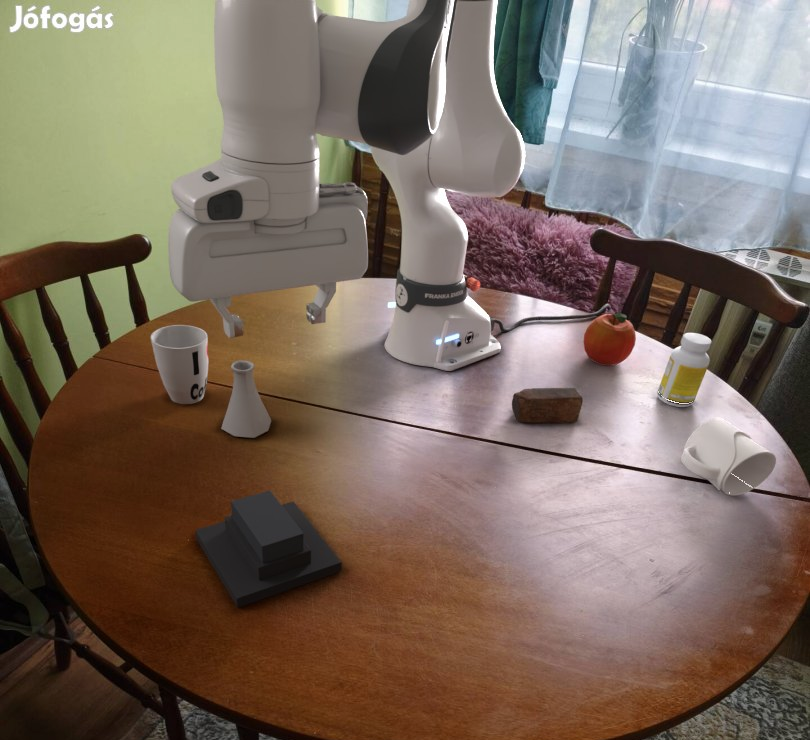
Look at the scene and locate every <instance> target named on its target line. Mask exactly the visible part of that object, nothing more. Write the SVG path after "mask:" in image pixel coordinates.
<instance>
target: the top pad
mask: <svg viewBox="0 0 810 740" xmlns="http://www.w3.org/2000/svg"><path fill="white" fill-rule="evenodd" d="M282 505H283V504H281V502H280V501H279V500H278V498H277V497H276V496H275V495H274V493H273V492H272V491H271V490H265V491H263V492H259V493H255V494H252V495H251V494H250V495H247V496H245V497H241V498H238V499H233V500H231V501H230V508H231V515H232V518H233V520H234V521H235V523H236V524H237V526H238V527H239V528H240V530H241V531H242V533H243V534H244V536H245V537H246V539H247V540H248V542H249V543H250V545H251V546H252V548H253V549H254V551H255V552H256V554H257V555H258V557H259V558H260V559H261V561H262V562H263V563H265V562H268V561H272V560H275V559H278V558H281V557H284V556H287V555H290V554H293V553H296V552H299V551H302V550H304V541H303V532H302V531H301V530H300V528H299V527H298V526H297V524H296V523H295V522H294V521H293V519H292V518H291V517H290V515H289V514H288V513H287V512H286V510H285V509H284V508H283V506H282Z"/></svg>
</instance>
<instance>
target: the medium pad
mask: <svg viewBox="0 0 810 740" xmlns="http://www.w3.org/2000/svg"><path fill="white" fill-rule="evenodd" d="M224 521H225V527H226V531H227V532H228V534H229V535H230V537H231V538H232V540H233V541H234V543H235V544H236V546H237V547H238V549H239V550H240V552H241V553H242V555H243V557H244V558H245V560H246V561H247V563H248V564H249V566H250V567H251V569H252V570H253V572H254V573H255V575H256V576H257V578H258V579H259V580H263V579H266V578H269V577H271V576H274V575H277V574H280V573H283V572H286V571H289V570H292V569H295V568H298V567H301V566H304V565H307V564H310V563H311V550H310V548H309V547H308V546H307V544H306V543H305V542H304V550H302V551H299V552H296V553H293V554H290V555H287V556H284V557H281V558H278V559H275V560H272V561H268V562H265V563H263V562H262V561H261V559H260V558H259V557H258V555H257V554H256V552H255V551H254V549H253V548H252V546H251V545H250V543H249V542H248V540H247V539H246V537H245V536H244V534H243V533H242V531H241V530H240V528H239V527H238V526H237V524H236V523H235V521H234V520H233V518H232V514H229V515H226V516H224ZM303 541H304V540H303Z"/></svg>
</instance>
